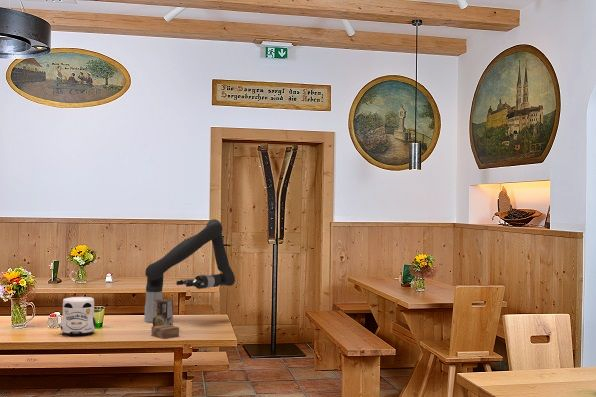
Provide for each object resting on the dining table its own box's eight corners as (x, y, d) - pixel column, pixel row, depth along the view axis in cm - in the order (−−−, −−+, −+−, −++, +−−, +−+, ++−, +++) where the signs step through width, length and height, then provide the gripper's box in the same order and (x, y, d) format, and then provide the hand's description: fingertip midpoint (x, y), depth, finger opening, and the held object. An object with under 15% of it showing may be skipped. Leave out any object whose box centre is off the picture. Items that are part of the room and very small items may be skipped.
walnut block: (151, 336, 366) (151, 326, 366) (167, 333, 374) (167, 324, 374) (162, 339, 359) (162, 329, 359) (178, 337, 367) (179, 327, 366)
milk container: (71, 338, 355) (72, 302, 355) (54, 333, 367) (54, 298, 367) (101, 334, 368) (102, 299, 368) (84, 329, 380) (84, 295, 380)
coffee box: (173, 330, 383) (173, 300, 383) (167, 332, 377) (167, 301, 377) (158, 328, 386) (158, 299, 386) (152, 330, 380) (152, 300, 380)
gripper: (196, 273, 407) (173, 275, 395) (212, 276, 397) (189, 278, 385) (196, 286, 407) (173, 289, 395) (212, 289, 397) (189, 292, 385)
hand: (181, 283), depth 390 cm, fingers open, 8 cm apart
